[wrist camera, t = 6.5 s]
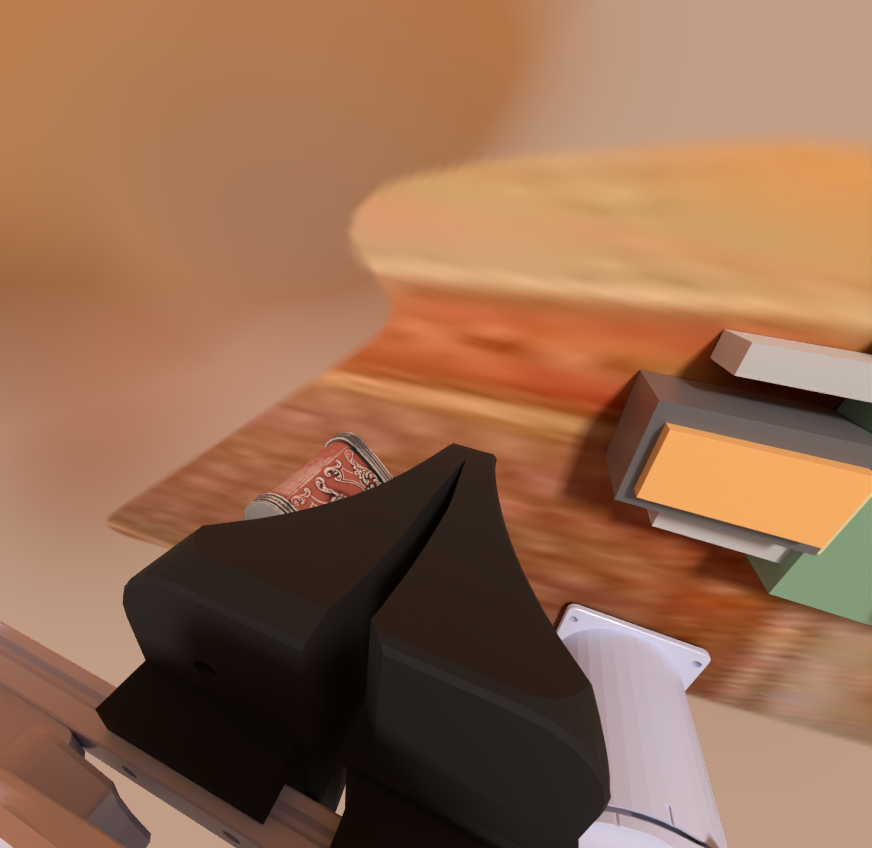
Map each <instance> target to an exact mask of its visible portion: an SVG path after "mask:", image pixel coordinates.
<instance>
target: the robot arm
mask: <svg viewBox="0 0 872 848" xmlns="http://www.w3.org/2000/svg"><path fill="white" fill-rule="evenodd" d="M496 460H497V459H496V457H495V456H494V455H493V454H489V453H486V452H482V451H479V450H475V449H472V448H468V447H465V446H461V445H457V444H454V443H453V444H451V445H449V446H447V447H446V448H444V449H443V450H441V451H440V452H438V453H437V454H435V455H433V456H432V457H430V458H429V459H427V460H425V461H424V462H422V463H420V464H419V465H417V466H415V467H413V468H412V469H410V470H408V471H406V472H405V473H403V474H401V475H399V476H397V477H395V478H393V479H391V480H389V481H387V482H385V483H383V484H380V485H378V486H376V487H373V488H371V489H368V490H366V491H363V492H360V493H358V494H355V495H352V496H349V497H346V498H343V499H339V500H336V501H333V502H329V503H326V504H323V505H319V506H316V507H312V508H308V509H304V510H299V511H295V512H290V513H285V514H280V515H275V516H270V517H264V518H259V519H252V520H244V521H237V522H230V523H222V524H215V525H205V526H202V527H200V528H199V529H197V530H196V531H195V532H193V533H192V534H190V535H189V536H188V537H186V538H185V539H184V540H182V541H181V542H180V543H178V544H177V545H176V546H174V547H173V548H172V549H170V550H169V551H168V552H166V553H165V554H163V555H162V556H161V557H159V558H158V559H157V560H155V561H154V562H153V563H151V564H150V565H149V566H147V567H146V568H144V569H143V570H142V571H140V572H139V573H138V574H136V575H135V576H134V577H132V578H131V579H130V580H129V581H128V583H127V584H126V585H125V588H124V593H123V606H124V609H125V612H126V616H127V618H128V620H129V623H130V625H131V627H132V629H133V632H134V634H135V637H136V639H137V641H138V644H139V646H140V648H141V650H142V653H143V655H144V657H145V659H146V661H145V662H144V663H143V664H142V665H140V666H139V668H137V669H136V670H135V671H134V672H133V673H132V674H131V675H130V676H129V677H128V678H127V679H126V680H125V681H124V682H123V683H122V684H121V685H120V686H119V687H118V688H117V687H115V686H113V685H111V684H110V683H108V682H106V681H104V680H103V679H101V678H99V677H97V676H96V675H94V674H92V673H90V672H89V671H87V670H85V669H83V668H82V667H80V666H78V665H76V664H75V663H73V662H71V661H69V660H68V659H66V658H64V657H62V656H61V655H59V654H57V653H55V652H54V651H52V650H50V649H48V648H47V647H45V646H43V645H41V644H40V643H38V642H36V641H35V640H33V639H31V638H29V637H27V636H26V635H24V634H22V633H21V632H19V631H17V630H15V629H14V628H12V627H10V626H8V625H6V624H5V623H3V622H1V621H0V848H146V847H147V845H148V844H149V843H150V836H151V834H150V832H149V831H148V830H147V829H146V828H145V827H144V826H143V825H142V824H141V822H140V821H139V820H138V819H137V818H136V817H135V816H134V815H133V814H132V813H131V811H130V810H129V809H128V807H127V806H126V804H125V803H124V802H123V801H122V799H121V798H120V796H119V794H118V792H117V790H116V787H115V785H114V783H113V782H112V781H111V780H110V779H109V778H108V777H106V776H105V775H104V774H103V773H102V772H100V771H99V770H98V769H97V768H96V767H94V766H93V765H92V764H91V763H89V762H88V761H87V760H86V759H85V758H84V757H85V751H87V752H88V753H90V754H91V755H93V756H95V757H96V758H98V759H100V760H101V761H102V762H104V763H105V764H107V765H109V766H110V767H112V768H113V769H115V770H116V771H118V772H119V773H121V774H122V775H124V776H126V777H127V778H129V779H130V780H132V781H133V782H135V783H137V784H138V785H140V786H141V787H143V788H144V789H146V790H147V791H149V792H150V793H152V794H153V795H155V796H157V797H158V798H160V799H162V800H163V801H164V802H166V803H167V804H169V805H171V806H172V807H174V808H175V809H177V810H178V811H180V812H182V813H183V814H185V815H186V816H188V817H189V818H191V819H192V820H194V821H195V822H197V823H198V824H200V825H202V826H203V827H205V828H206V829H208V830H209V831H211V832H212V833H214V834H216V835H217V836H219V837H220V838H222V839H223V840H225V841H226V842H228V843H230V844H231V845H233V846H234V847H236V848H728V847H727V843H726V840H725V836H724V832H723V829H722V825H721V821H720V818H719V814H718V810H717V807H716V803H715V800H714V796H713V792H712V788H711V785H710V781H709V777H708V774H707V770H706V766H705V763H704V759H703V755H702V752H701V748H700V744H699V741H698V737H697V733H696V730H695V726H694V723H693V719H692V715H691V712H690V708H689V704H688V701H687V697H686V693H685V690H686V689H687V688H688V687H689V686H690V685H691V683H692V682H693V681H694V680H695V679H696V678H697V676H698V675H699V674H700V673H701V672H702V671H703V669H704V668H705V667H706V666H707V665H708V664H709V662H710V660H711V659H710V656H709V654H708V652H707V651H706V650H704V649H702V648H699V647H697V646H694V645H691V644H688V643H685V642H682V641H680V640H677V639H674V638H671V637H668V636H666V635H663V634H660V633H657V632H654V631H651V630H649V629H646V628H643V627H640V626H637V625H635V624H632V623H629V622H626V621H623V620H620V619H618V618H615V617H612V616H609V615H606V614H604V613H601V612H598V611H595V610H592V609H589V608H587V607H584V606H581V605H578V604H570V605H568V607H567V609H566V611H565V613H564V615H563V617H562V619H561V621H560V624H559V626H558V628H557V630H556V631H555V629H554V627H553V626H552V624H551V622H550V621H549V619H548V617H547V616H546V614H545V612H544V611H543V609H542V607H541V605H540V603H539V601H538V599H537V597H536V595H535V594H534V592H533V590H532V588H531V586H530V584H529V582H528V580H527V578H526V576H525V574H524V572H523V570H522V568H521V565H520V563H519V561H518V558H517V556H516V554H515V551H514V549H513V546H512V543H511V541H510V538H509V535H508V532H507V529H506V526H505V522H504V519H503V515H502V512H501V507H500V503H499V498H498V492H497V486H496V477H495V465H496ZM572 616H573V617H572ZM345 785H346V795H345V811H344V813H343V816H340V815H338V814H336V813H335V812H336V809H337V807H338V804H339V801H340V798H341V796H342V793H343V790H344V787H345Z"/></svg>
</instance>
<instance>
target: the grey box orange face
mask: <svg viewBox="0 0 872 848" xmlns="http://www.w3.org/2000/svg"><path fill="white" fill-rule="evenodd" d="M605 455H606V460H607V465H608V470H609V475H610V480H611V485H612V490H613V496H614V500H618V501H622V502H625V503H629V504H632V505H636V506H639V507H643V508H647V509H650V510H654V511H657V512H661V513H664V514H668V515H672V516H675V517H679V518H682V519H686V520H689V521H693V522H696V523H700V524H704V525H707V526H711V527H714V528H718V529H721V530H725V531H729V532H732V533H736V534H739V535H743V536H746V537H750V538H753V539H757V540H761V541H764V542H768V543H771V544H775V545H778V546H782V547H786V548H789V549H793V550H796V551H800V552H803V553H807V554H811V555H814V556H815V555H816V554H817V553H818V552H819V551H820V550H821V549H822V548H823V547H824V545H825V544H826V543H827V542H828V541H829V540H830V539H831V537H832V536H833V535H834V534H835V533H836V532H837V531H838V529H839V528H840V527H841V526H842V525H843V524H844V523H845V521H846V520H847V519H848V518H849V517H850V516H851V515H852V514H853V512H854V511H855V510H856V509H857V508H858V507H859V506H860V504H861V503H862V502H863V501H864V500H865V499H866V498H867V496H868V495H869V494H870V493H871V492H872V433H870V432H868V431H867V430H865V429H863V428H862V427H860V426H858V425H856V424H855V423H853V422H851V421H850V420H848V419H846V418H845V417H843V416H841V415H839V414H838V413H836V412H834V411H833V410H831V409H829V408H828V407H825V406H820V405H815V404H810V403H805V402H800V401H795V400H790V399H785V398H780V397H775V396H769V395H764V394H759V393H754V392H749V391H744V390H739V389H734V388H729V387H724V386H719V385H714V384H709V383H704V382H699V381H694V380H689V379H684V378H679V377H674V376H669V375H664V374H659V373H654V372H649V371H644V370H639V373H638V375H637V378H636V380H635V383H634V385H633V388H632V390H631V392H630V395H629V397H628V400H627V402H626V405H625V407H624V410H623V412H622V415H621V417H620V419H619V422H618V424H617V427H616V429H615V432H614V434H613V437H612V439H611V441H610V444H609V446H608V449H607V451H606V454H605Z"/></svg>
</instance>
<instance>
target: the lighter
mask: <svg viewBox="0 0 872 848" xmlns="http://www.w3.org/2000/svg"><path fill="white" fill-rule="evenodd" d="M391 479H393V477H392V475H391V474H390V473H389V472H388V470H387V469H386V468H385V466H384V465H383V464H382V462H381V461H380V460H379V458H378V457H377V456H376V455H375V454H374V453H373V452H372V450H371V449H370V448H369V447H368V446H367V445H366V444H365V443H364V442H363V441H362V440H361V439H360V438H359V437H358V436H357V435H355V434H353V433H350V432H342V433H339V434H337V435H336V436H335V437H333V438H332V439H331V440H330V441H328V442H327V443H326V445H325V447H324V449H323V450H322V451H320V452H319V453H318V454H317V455H315V456H314V457H313V458H312V459H310V460H309V461H308V462H307V463H306V464H304V465H303V466H302V467H301V468H299V469H298V470H297V471H296V472H294V473H293V474H292V475H291V476H289V477H288V478H287V479H286V480H284V481H283V482H282V483H281V484H279V485H278V486H277V487H276V488H274V489H273V490H272V491H271V492H270V493H264V494H261V495H260V496H259V497H258V498H256V499H255V500H254V501H252V502H251V503H250V504H249V505H248V506H246V508H245V511H244V519H245V520H252V519H259V518H264V517H270V516H275V515H280V514H285V513H290V512H295V511H299V510H304V509H308V508H312V507H316V506H319V505H323V504H326V503H329V502H333V501H336V500H339V499H343V498H346V497H349V496H352V495H355V494H358V493H360V492H363V491H366V490H368V489H371V488H373V487H376V486H378V485H380V484H383V483H385V482H387V481H389V480H391Z"/></svg>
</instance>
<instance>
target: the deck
mask: <svg viewBox="0 0 872 848" xmlns="http://www.w3.org/2000/svg"><path fill="white" fill-rule="evenodd" d="M710 358H711V359H712V360H713V361H715V362H716V363H717V364H719V365H720V366H722V367H723V368H724V369H726V370H727V371H729V372H730V373H731V374H733V375H734V376H739V377H744V378H749V379H754V380H759V381H764V382H769V383H774V384H779V385H784V386H789V387H795V388H800V389H805V390H810V391H815V392H820V393H825V394H830V395H835V396H840V397H845V399H844V401H843V402H842V403H841V405H840V406H839V407H838V409H837V410H836V413H838V414H839V415H841V416H843V417H845V418H846V419H848V420H850V421H851V422H853V423H855V424H856V425H858V426H860V427H862V428H863V429H865V430H867V431H868V432H870V433H872V354H866V353H860V352H854V351H848V350H843V349H837V348H831V347H825V346H819V345H814V344H808V343H802V342H796V341H790V340H785V339H779V338H773V337H767V336H761V335H755V334H750V333H744V332H738V331H732V330H726V329H724V331H723V333H722V335H721V337H720V339H719V341H718V343H717V345H716V347H715V349H714V351H713V353H712V355H711V357H710ZM646 509H647V508H646ZM647 512H648V516H649V519H650V522H651V525H652V526H654V527H657V528H661V529H664V530H668V531H671V532H674V533H678V534H681V535H685V536H688V537H691V538H695V539H698V540H702V541H705V542H708V543H712V544H715V545H719V546H722V547H725V548H729V549H732V550H736V551H739V552H742V553H745V555H746V557H747V558H748V560H749V562H750V563H751V565H752V567H753V568H754V570H755V572H756V573H757V575H758V577H759V578H760V580H761V582H762V583H763V585H764V587H765V588H766V590H767V592H768V593H769V594H771V595H774V596H778V597H781V598H784V599H787V600H790V601H794V602H797V603H800V604H803V605H807V606H810V607H813V608H816V609H819V610H823V611H826V612H829V613H832V614H835V615H839V616H842V617H845V618H848V619H851V620H855V621H858V622H861V623H864V624H867V625H871V626H872V492H871V493H870V494H869V495H868V496H867V498H866V499H865V500H864V501H863V502H862V503H861V504H860V506H859V507H858V508H857V509H856V510H855V511H854V512H853V514H852V515H851V516H850V517H849V518H848V519H847V520H846V521H845V523H844V524H843V525H842V526H841V527H840V528H839V529H838V531H837V532H836V533H835V534H834V535H833V536H832V537H831V539H830V540H829V541H828V542H827V543H826V544H825V545H824V547H823V548H822V549H821V550H820V551H819V552H818V553H817V554H816V555H815V556H814V555H811V554H807V553H803V552H800V551H796V550H793V549H789V548H786V547H782V546H778V545H775V544H771V543H768V542H764V541H761V540H757V539H753V538H750V537H746V536H743V535H739V534H736V533H732V532H729V531H725V530H721V529H718V528H714V527H711V526H707V525H704V524H700V523H696V522H693V521H689V520H686V519H682V518H679V517H675V516H672V515H668V514H664V513H661V512H657V511H654V510H650V509H647Z"/></svg>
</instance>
